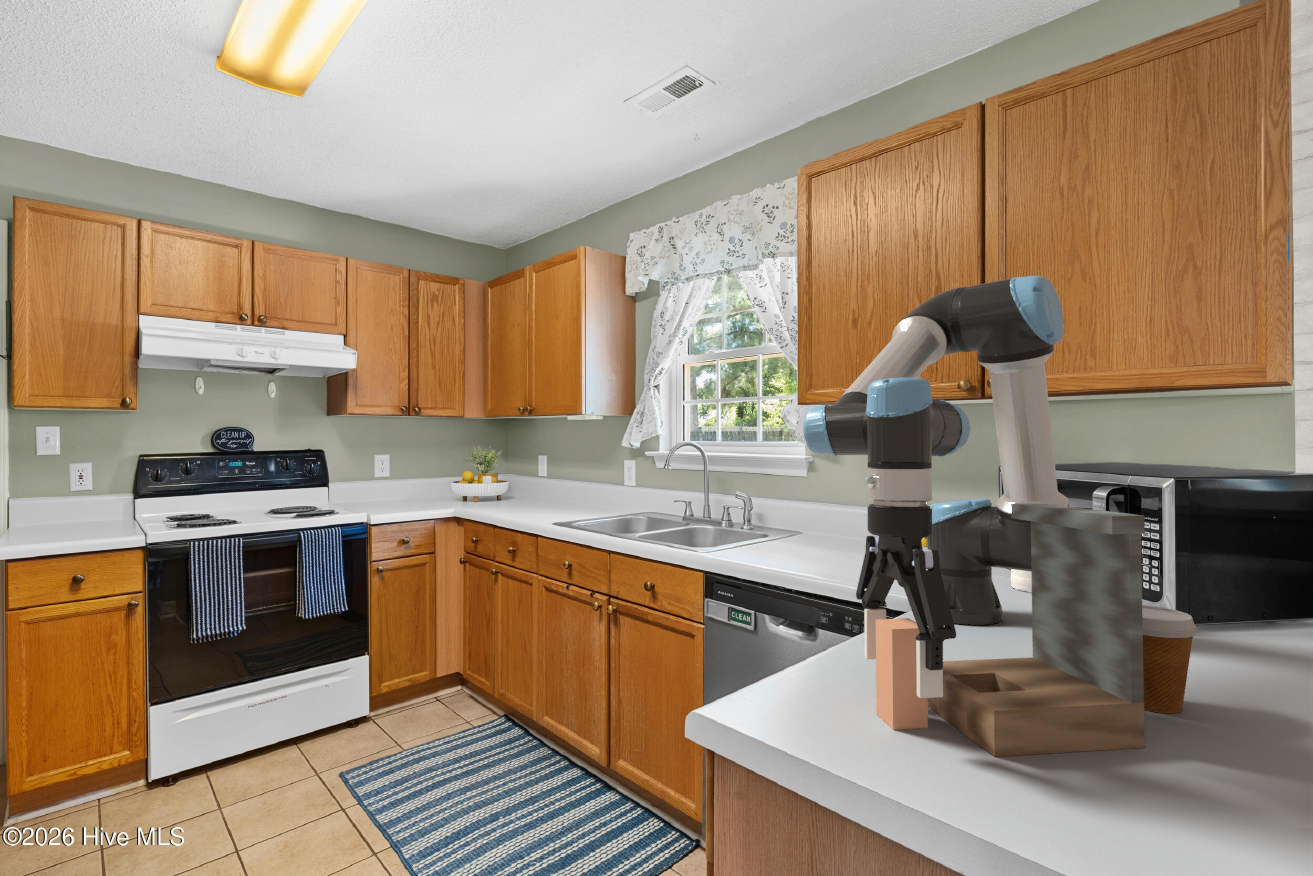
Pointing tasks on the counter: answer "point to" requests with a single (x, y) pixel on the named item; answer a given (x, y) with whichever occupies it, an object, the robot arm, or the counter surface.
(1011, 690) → the socket stand
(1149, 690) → the disposable coffee cup
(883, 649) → the peg
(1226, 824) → the counter surface
